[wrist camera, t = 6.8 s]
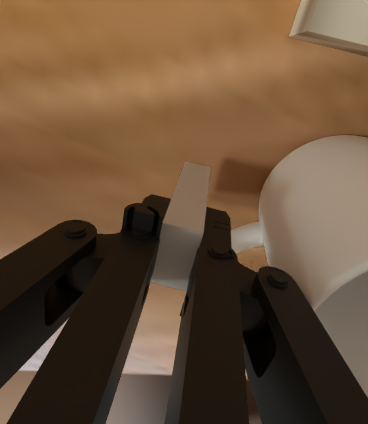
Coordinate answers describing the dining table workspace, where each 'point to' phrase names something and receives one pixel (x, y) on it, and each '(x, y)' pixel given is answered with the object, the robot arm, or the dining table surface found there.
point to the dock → (333, 24)
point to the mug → (321, 236)
